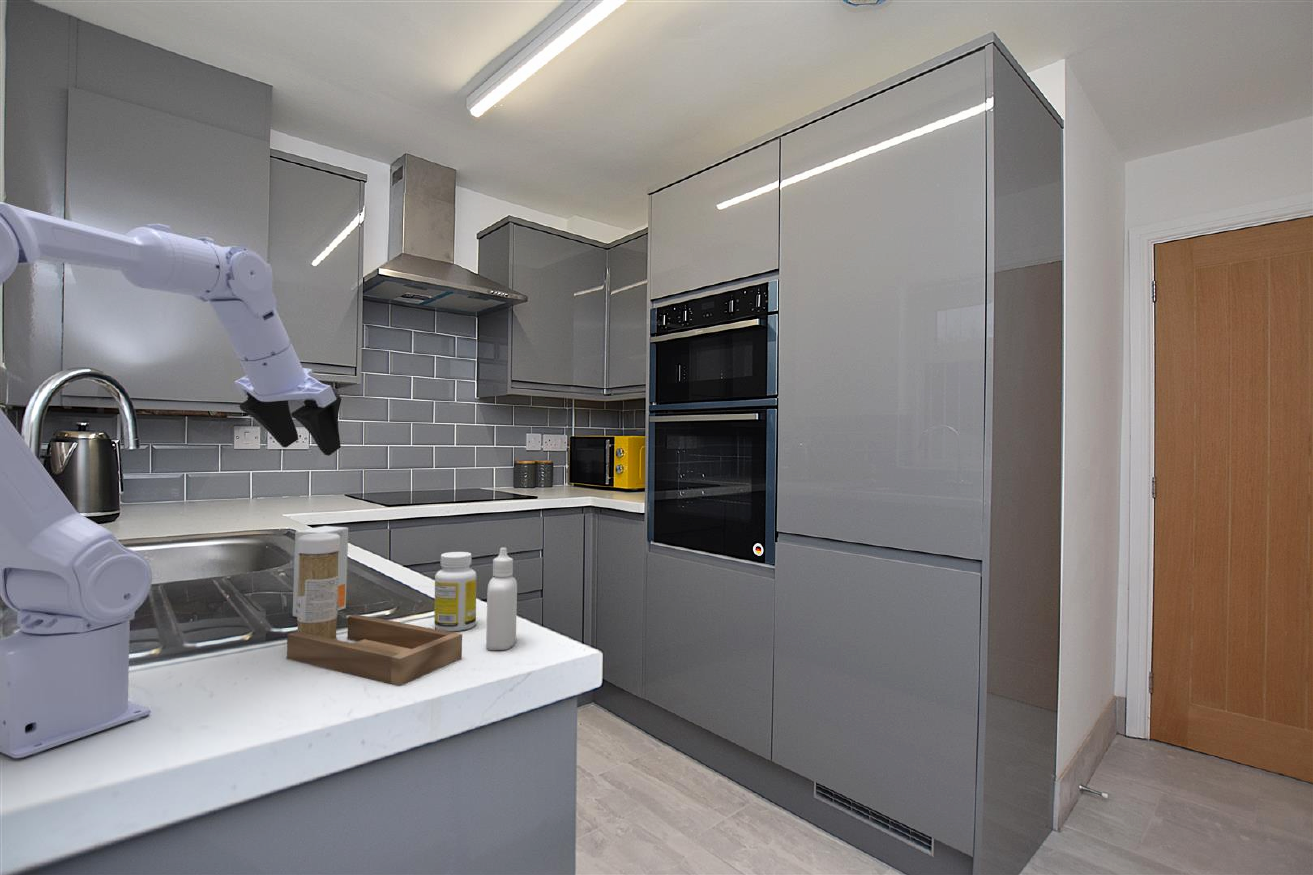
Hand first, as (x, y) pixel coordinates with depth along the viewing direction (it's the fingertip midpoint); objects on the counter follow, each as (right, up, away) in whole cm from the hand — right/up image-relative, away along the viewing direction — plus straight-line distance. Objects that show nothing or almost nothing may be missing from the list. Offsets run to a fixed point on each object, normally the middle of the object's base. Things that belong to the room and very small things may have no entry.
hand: (311, 447), depth 83 cm
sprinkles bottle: (+3, -24, -4) cm, 25 cm away
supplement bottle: (+17, -25, +5) cm, 30 cm away
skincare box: (-4, -24, +10) cm, 26 cm away
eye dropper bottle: (+25, -25, -2) cm, 35 cm away
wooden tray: (+11, -24, -8) cm, 28 cm away
